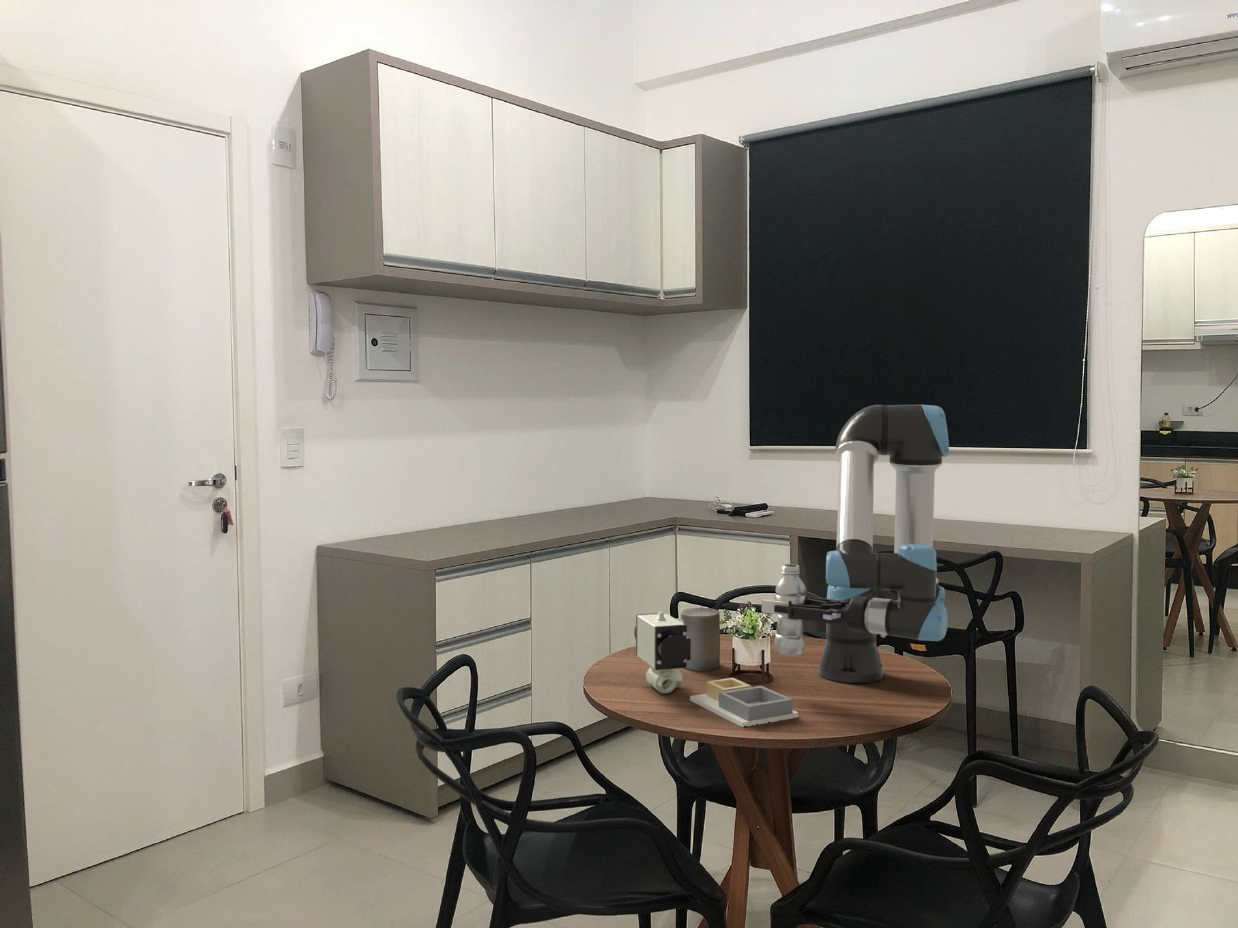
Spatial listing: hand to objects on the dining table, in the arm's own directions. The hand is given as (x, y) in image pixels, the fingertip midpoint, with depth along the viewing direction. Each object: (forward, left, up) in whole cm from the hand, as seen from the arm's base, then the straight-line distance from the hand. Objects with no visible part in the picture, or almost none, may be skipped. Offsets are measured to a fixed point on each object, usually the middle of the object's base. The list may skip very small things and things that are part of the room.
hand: (768, 603), depth 220 cm
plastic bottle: (-3, +4, -11) cm, 12 cm away
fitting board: (+12, +7, -20) cm, 24 cm away
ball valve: (+20, -13, -20) cm, 31 cm away
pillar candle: (+2, -26, -21) cm, 33 cm away
